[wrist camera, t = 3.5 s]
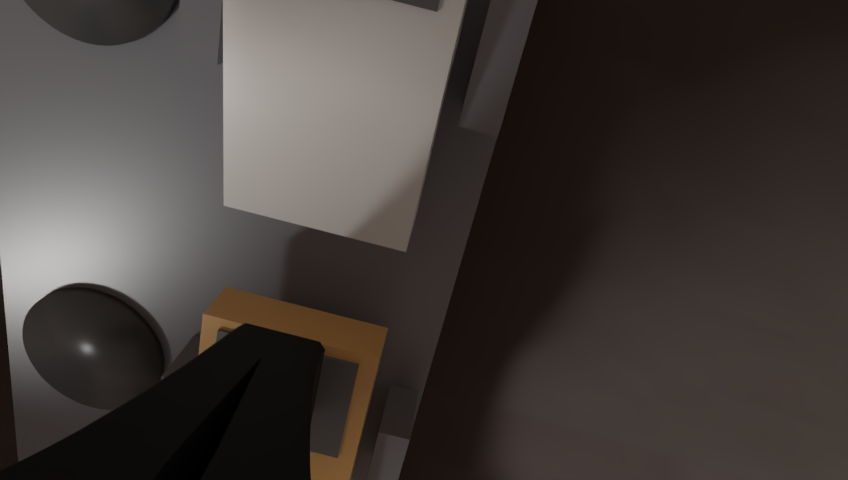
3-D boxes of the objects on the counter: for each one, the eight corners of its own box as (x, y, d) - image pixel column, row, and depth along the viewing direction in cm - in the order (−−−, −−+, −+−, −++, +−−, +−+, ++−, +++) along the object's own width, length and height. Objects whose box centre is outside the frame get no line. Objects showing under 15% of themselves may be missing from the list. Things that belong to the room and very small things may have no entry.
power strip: (343, 643, 22) (308, 799, 18) (94, 580, 22) (3, 722, 18) (602, -272, 10) (668, -414, 6) (79, -406, 10) (-183, -633, 6)
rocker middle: (336, 542, 14) (318, 604, 12) (206, 508, 14) (174, 568, 12) (391, 316, 11) (378, 360, 10) (235, 275, 11) (201, 315, 10)
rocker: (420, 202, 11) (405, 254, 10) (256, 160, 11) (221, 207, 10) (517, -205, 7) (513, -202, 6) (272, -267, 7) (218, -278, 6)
